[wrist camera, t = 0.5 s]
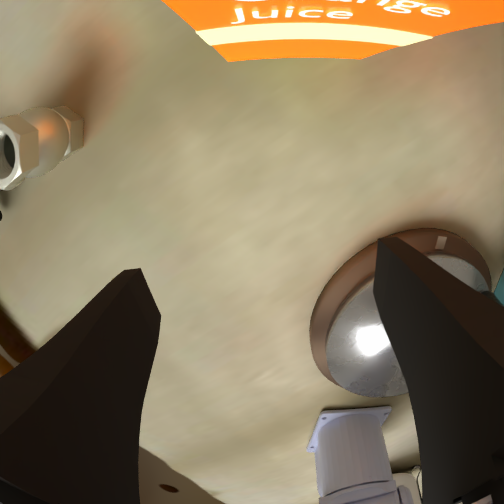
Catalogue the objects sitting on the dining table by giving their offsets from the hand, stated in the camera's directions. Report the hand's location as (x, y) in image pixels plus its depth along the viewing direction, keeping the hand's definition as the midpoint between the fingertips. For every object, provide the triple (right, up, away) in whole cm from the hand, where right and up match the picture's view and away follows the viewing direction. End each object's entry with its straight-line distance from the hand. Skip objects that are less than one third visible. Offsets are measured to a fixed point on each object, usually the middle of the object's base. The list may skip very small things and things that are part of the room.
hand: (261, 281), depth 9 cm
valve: (-16, +8, +9) cm, 20 cm away
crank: (+12, -5, +12) cm, 18 cm away
